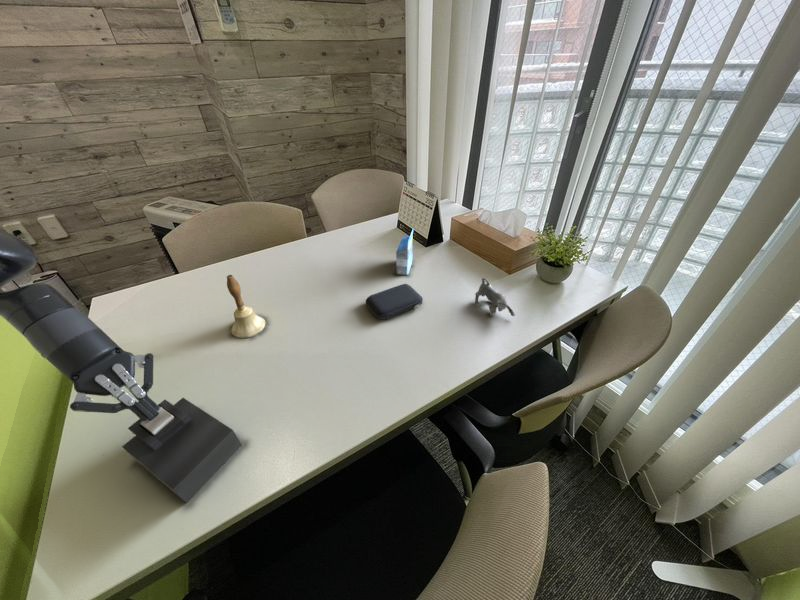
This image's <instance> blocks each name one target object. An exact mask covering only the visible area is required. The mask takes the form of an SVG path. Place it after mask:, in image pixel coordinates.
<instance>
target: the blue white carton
mask: <svg viewBox="0 0 800 600" xmlns="http://www.w3.org/2000/svg"><path fill="white" fill-rule="evenodd" d="M413 234H414V229H412V230H411V232H410V235H407V236H405V237H402V238H401V239H400V242H399V245H398V246H397V250H396V252H395V253H396V254H395V258H396V261H395V262H396V275H401V276H402V275H404V276H408V275H409V272H410V269H411V266H412V265H413Z"/></svg>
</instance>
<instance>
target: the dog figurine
mask: <svg viewBox="0 0 800 600" xmlns="http://www.w3.org/2000/svg"><path fill="white" fill-rule="evenodd" d="M491 284H492V283H491V282H489V280H488V279H486V277H482V278H481V284H480V285H479V288H478V290H477V291H476V292H475V294H474V295H475V298H474V304H475V305H479V299H480V297H486V299H487V300H488V301H489V302H490V303H491V304H489V305H488V310H489V315H490V316H491V317H494V316H495V315H496V313H497V311H498V312H502V311H503V310H505V309H507V310H508V312H509V314H510V315H511V316H512V317H515V316H516V314H515V312H514V310H513V309H512V308H511V306H510V305H509V304H508V300H507V297H506V296H505V295H504V294H503V293H501V292H499V291H497V290H495V289H494V288H493V287H492V285H491Z"/></svg>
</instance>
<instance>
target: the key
mask: <svg viewBox="0 0 800 600" xmlns="http://www.w3.org/2000/svg"><path fill="white" fill-rule="evenodd" d="M157 412H158V413H159V415H158V416H156V417H155V418H154V419H153V420H151V421H150V420H148V419H147V420H146V421H142V422H141V423H140V424H141V425H142V426H143V427H144V428H145V429H146V430H147V431H148V432H150V433H151V434H152V435H156V434H157V433H158V432H159V431H160V430H162V429H163V428H164V427H165V426H166V425H167V424H169V423H170V422H171V421H172V420H173V419H175V418H174V417H173V415H171V414H170V413H168V412H167V411H166V410H164V409H163V408H161V407H160V409H159V410H158V411H157Z"/></svg>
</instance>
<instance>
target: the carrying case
mask: <svg viewBox="0 0 800 600" xmlns="http://www.w3.org/2000/svg"><path fill="white" fill-rule="evenodd" d="M423 299H424V298H423V296H421V294H420V293H419V292H417V290H416V289H414V288H413V287H412V286H411V285H410V284H408V283H402V284H400V285H396V286H394V287H390V288H388V289H384V290H382V291H379V292H377V293H374V294H370V295H369V296H368V297H367V298H366V299H365V305H366V306H367V307H368V308H369V309H370V311H371V312H372V313H373V314H374V316H376V318H378V319H380V320H384V319H388V318H391V317H393V316H396V315H398V314H401V313H403V312H406V311H409V310H411V309H412V310H413V311H415V310H416V309H418V308H419V307H421V305H422V304H423V301H424V300H423Z"/></svg>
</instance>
